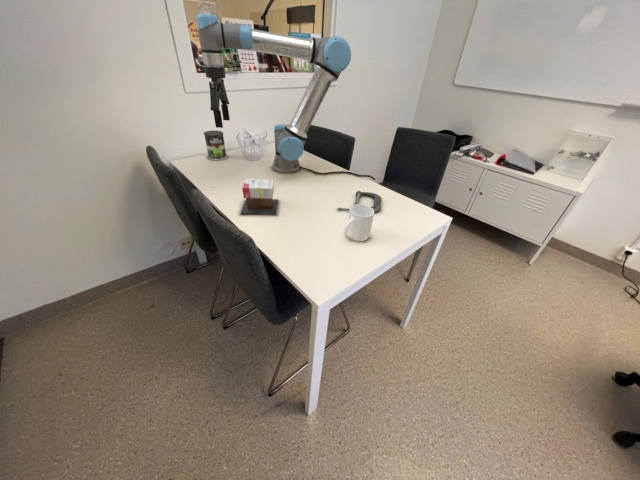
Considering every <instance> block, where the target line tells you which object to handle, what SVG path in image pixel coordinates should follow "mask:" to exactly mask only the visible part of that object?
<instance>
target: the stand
mask: <svg viewBox="0 0 640 480" xmlns="http://www.w3.org/2000/svg"><path fill="white" fill-rule="evenodd" d="M278 206H279V199H278V198H277V199H275V198H274V197H273V198H272V199H265V198H245V200H244V203H243V206H242V209H241V212H240V215H241V216H277V213H278Z"/></svg>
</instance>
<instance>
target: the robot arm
mask: <svg viewBox="0 0 640 480" xmlns="http://www.w3.org/2000/svg"><path fill="white" fill-rule="evenodd" d="M195 20H196V28H197V35H198V40H199V44H200V50H201V55H200V57H201V59H202V61H203V65H204V74H205V77H206V78H208V79H211V80H210V81H209V82H208V85H209V100H210V111H211V112H213V118H214V119H213V120H214V123H215V128H221V129H223V128H224V123H223V121H231V119H230V112H229V105H230V101H229V98H228V94H227V89H226V85H225V82H224V79H226V70H225V67H224V65H225V62H224V61H225V60H224V54H223V49H233V50H244V51H251V52H257V53H264V54H269V55H274V56H280V57H287V58H293V59H299V60H305V61H306V62H307V63H308V64H312V65H313V68H314V72H313V74H312V76H311V78H310V80H309V83H308V85H307V87H306V89H305V91H304V93H303V96H302V98H301V99H300V101H299V104H298V106H297V108H296V110H295V113H294V115H293V117H292V119H291V120H290V123H286V124H285V123H284V124H275V125H274V127H273V128H274V129H273V133H274V151H275V154H274V157H273V162H272V169H273V170H274V171H276V172H278V173H281V174H291V173H296V172H299V171H300V170H304V171H308V172H311V173H314V174H317V175H320V176H321V175H323V176H324V175H331V174H348V175H349V174H350V175H353V176H356V177H359V178H371V179H372V180H373V181H376V178H375V177H374V176H372V175H370V174H358V173H355V172H352V171H346V170H338V171H328V172H318V171H315V170H313V169H310V168H308V167H304V166H301V164H300V161H299V159H300V158H301V157H302V155H303V154H304V150H305V147H304V146H305V144H306V142H307V140H308V134H307V132H308V131H309V129H310V127H311V125H312V123H313V121H314V119H315V117H316V115H317V113H318V111H319V109H320V107H321V105H322V103H323V101H324V99H325V97H326V96H327V93H328V92H329V89H330V87H331V85H332V83H333V82H336V81H338V79H339V77H340V75H341V74H342V72H343V71H345V70H346V69H347V68H348V67H349V65H350V62H351V60H352V50H351V46H350V44H349V43H348V41H347V40H346V39H345V38H343V37H341V36H338V35H334V36H327V37H312V36H310V37H309V38H302V37H297V36H293V35H292V36H291V35H286V34H281V33H277V32H276V33H275V32H271V31H265V30H260V29H253V28H252V27H251V26H250V25H247V24H239V23H238V24H237V23H223V22H219V18H218V16H216V15H213V14H207V13H205V14H204V13H199V14H196V17H195ZM220 103H221V104H220ZM220 106H221V110H220Z"/></svg>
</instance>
